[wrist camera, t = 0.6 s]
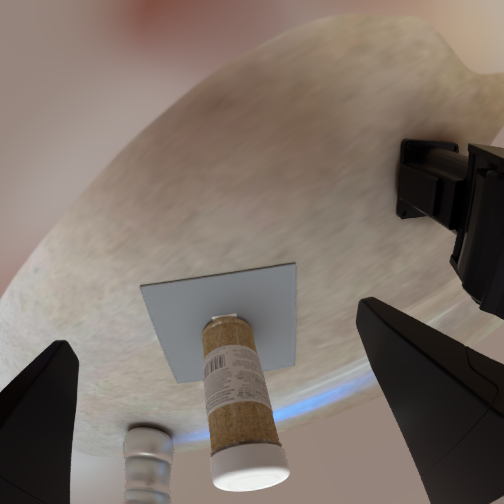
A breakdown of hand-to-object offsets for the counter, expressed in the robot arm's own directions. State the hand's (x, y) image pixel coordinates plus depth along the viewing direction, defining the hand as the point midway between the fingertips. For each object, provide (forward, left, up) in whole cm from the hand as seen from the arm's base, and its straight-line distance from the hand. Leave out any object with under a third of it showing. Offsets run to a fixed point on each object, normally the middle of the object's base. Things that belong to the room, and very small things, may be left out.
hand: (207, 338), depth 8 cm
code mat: (0, +12, -13) cm, 18 cm away
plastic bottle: (+13, +29, -13) cm, 34 cm away
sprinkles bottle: (0, +12, -13) cm, 18 cm away
